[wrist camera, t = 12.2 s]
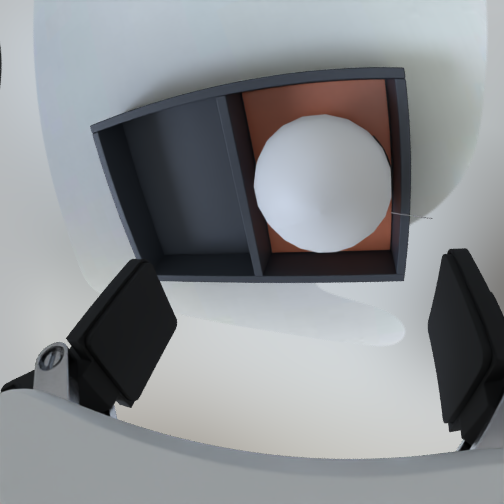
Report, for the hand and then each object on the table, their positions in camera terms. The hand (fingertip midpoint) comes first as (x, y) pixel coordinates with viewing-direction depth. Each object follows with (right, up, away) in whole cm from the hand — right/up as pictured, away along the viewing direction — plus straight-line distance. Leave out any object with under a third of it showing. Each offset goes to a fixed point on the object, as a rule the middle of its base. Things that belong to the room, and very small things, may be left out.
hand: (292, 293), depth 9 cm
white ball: (+5, +6, +9) cm, 12 cm away
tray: (-1, +7, +12) cm, 14 cm away
